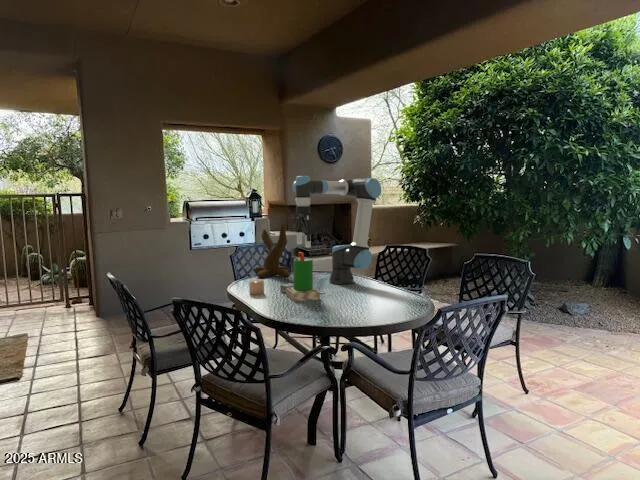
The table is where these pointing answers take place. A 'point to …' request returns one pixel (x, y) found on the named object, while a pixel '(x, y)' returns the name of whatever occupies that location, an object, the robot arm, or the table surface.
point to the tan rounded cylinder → (256, 287)
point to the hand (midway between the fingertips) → (303, 245)
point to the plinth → (302, 294)
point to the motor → (303, 273)
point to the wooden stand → (273, 256)
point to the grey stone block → (283, 287)
